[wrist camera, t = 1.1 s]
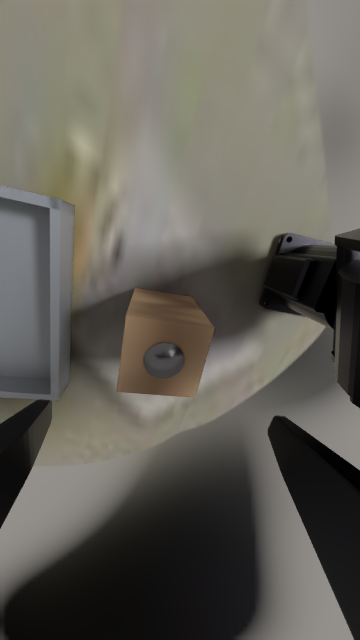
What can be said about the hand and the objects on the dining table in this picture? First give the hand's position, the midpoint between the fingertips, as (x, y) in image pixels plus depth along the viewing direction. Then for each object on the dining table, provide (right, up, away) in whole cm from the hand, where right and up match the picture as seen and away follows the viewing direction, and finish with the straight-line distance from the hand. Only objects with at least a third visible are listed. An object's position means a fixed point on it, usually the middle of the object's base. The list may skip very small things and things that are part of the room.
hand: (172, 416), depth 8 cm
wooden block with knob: (-2, +4, +10) cm, 11 cm away
